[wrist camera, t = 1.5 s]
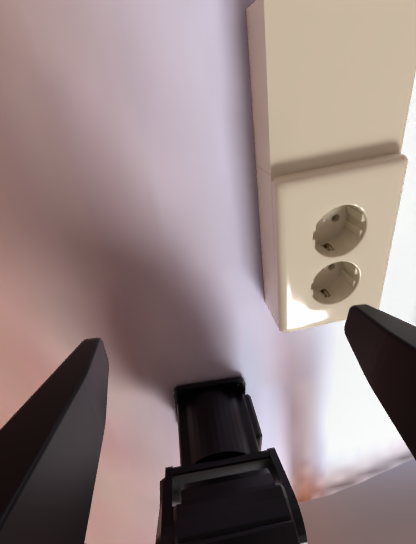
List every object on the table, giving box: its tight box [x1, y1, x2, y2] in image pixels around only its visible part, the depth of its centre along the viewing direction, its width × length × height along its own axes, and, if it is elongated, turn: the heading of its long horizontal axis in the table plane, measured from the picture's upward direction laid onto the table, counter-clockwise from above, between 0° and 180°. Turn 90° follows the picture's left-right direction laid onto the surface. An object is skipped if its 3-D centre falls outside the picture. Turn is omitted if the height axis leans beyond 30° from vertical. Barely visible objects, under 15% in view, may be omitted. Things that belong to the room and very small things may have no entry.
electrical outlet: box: [246, 0, 416, 333], centre depth 18 cm, size 7×4×18 cm
